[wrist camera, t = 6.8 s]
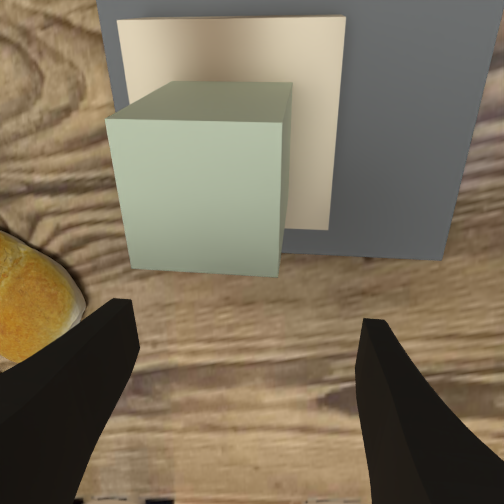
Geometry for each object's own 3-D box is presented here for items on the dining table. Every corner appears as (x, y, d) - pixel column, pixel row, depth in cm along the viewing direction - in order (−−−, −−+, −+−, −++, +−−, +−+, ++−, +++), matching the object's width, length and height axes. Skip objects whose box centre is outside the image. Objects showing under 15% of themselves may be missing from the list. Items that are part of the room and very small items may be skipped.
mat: (522, -87, 15) (527, -89, 15) (439, 256, 22) (441, 260, 22) (88, -70, 17) (83, -72, 16) (140, 242, 24) (138, 245, 23)
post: (292, 82, 15) (282, 123, 10) (288, 197, 18) (278, 277, 13) (171, 80, 16) (104, 118, 11) (182, 193, 18) (131, 268, 13)
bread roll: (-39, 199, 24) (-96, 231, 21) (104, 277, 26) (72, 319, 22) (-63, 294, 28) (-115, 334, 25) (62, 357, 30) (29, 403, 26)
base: (341, 14, 17) (346, 16, 14) (326, 202, 21) (328, 230, 18) (145, 17, 18) (116, 20, 15) (167, 196, 22) (148, 222, 19)
